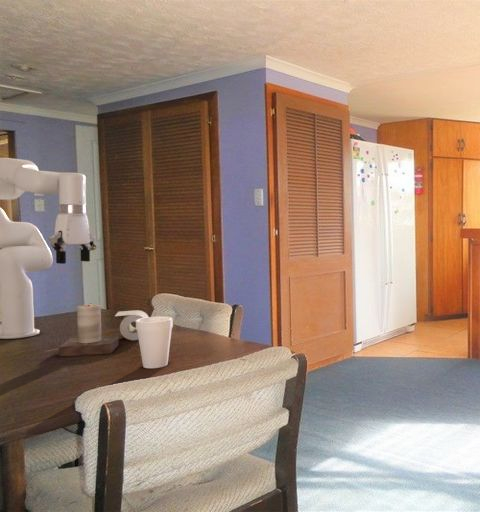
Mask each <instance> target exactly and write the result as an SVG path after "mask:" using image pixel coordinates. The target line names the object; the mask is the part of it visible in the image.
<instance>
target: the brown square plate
mask: <svg viewBox="0 0 480 512" xmlns="http://www.w3.org/2000/svg"><path fill="white" fill-rule="evenodd" d="M101 339H102V340H101V341H98V342H93V343H79V342H78V337H70V338H69V339H67V340H66V341H64V342H63V343H62V344H60V345H59V346H58V357H75V356H91V355H108V354H112V353H113V351H115V349H116V348H117V347H118V346H119V344H120V343H119V342H120V339H119V335H110V336H101Z"/></svg>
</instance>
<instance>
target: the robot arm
mask: <svg viewBox="0 0 480 512" xmlns="http://www.w3.org/2000/svg"><path fill="white" fill-rule="evenodd" d="M26 192H27V193H32V194H35V195H36V194H37V195H54V196H58V197H59V198H58V199H59V201H58V202H59V203H58V204H59V205H58V206H59V214H57V215H56V218H55V224H54V234H53V235H52V236H50V237H49V238H48V239H49V242H50V244H51V245H50V246H51V247H52V248H53V250H54V251H55V262H56V264H62V265H65V264H66V262H67V253H66V252H67V251H65V249H66V248H67V247H68V246H80V248H81V249H80V261H81V262H86V263H87V262H88V263H89V262H90V261H91V250H92V247H93V245H94V242H95V240H96V236H95V235H94V234H92V233H90V223H89V217H88V215H87V211H88V208H87V179H86V175H85V174H84V173H80V172H72V171H71V172H70V171H69V172H68V171H66V172H59V171H48V170H39V168H38V166H37V165H36V164H35V163H34V162H33V161H31V160H29V159H22V158H12V157H0V201H2V200H3V201H10V200H11V201H12V200H17V199H18V198H20V197H21V196H22V195H23V194H24V193H26ZM53 261H54V259H53V254H52V251H51V249H50V247H49V246H48V244H47V242H46V240H45V239H44V237H43V235H42V233H41V232H40V230H39V228H38V227H37V226H36V225H35V224H33V223H31V222H27V221H13V220H10V218H9V217H8V215H7V214H6V212H5V210H4V209H3V208H2V207H0V322H1V323H0V339H2V340H8V339H9V340H12V339H23V338H29V337H33V336H37V335H39V334H41V332H40V331H41V330H40V329H39V328H35V313H34V312H35V310H34V308H35V307H34V289H33V288H34V285H33V282H32V280H31V278H29V277H28V275H27V273H37V272H43V271H46V270H48V269H50V268H51V267H52V265H53V263H54V262H53Z"/></svg>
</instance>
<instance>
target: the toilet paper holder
mask: <svg viewBox="0 0 480 512" xmlns="http://www.w3.org/2000/svg"><path fill="white" fill-rule="evenodd" d="M121 316H124V317H123V319H122V320H121V322H120V323H119V332H120V334H121V336H122V337H123V338H124V339H127V340H128V341H139V339H138V333H137V330H136V327H134V326H133V325H132V323H136V320H138V319H141V318H147V317H150V316H149V315H148V314H147V313H146V312H145V311H143V310H138V309H136V310H122V311H117V313H116V314H115V315H114V317H121Z"/></svg>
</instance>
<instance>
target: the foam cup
mask: <svg viewBox="0 0 480 512" xmlns="http://www.w3.org/2000/svg"><path fill="white" fill-rule="evenodd" d="M173 323H174V320H173V317H170V316H149V317H147V318H141V319H138V320H136V322H135V328H136V330H137V333H138V345H139V350H140V356H141V357H140V358H141V362H142V367H143V368H145V369H158V368H163V367H166V366H168V362H169V355H170V347H171V338H172V329H173V326H174V324H173Z"/></svg>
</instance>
